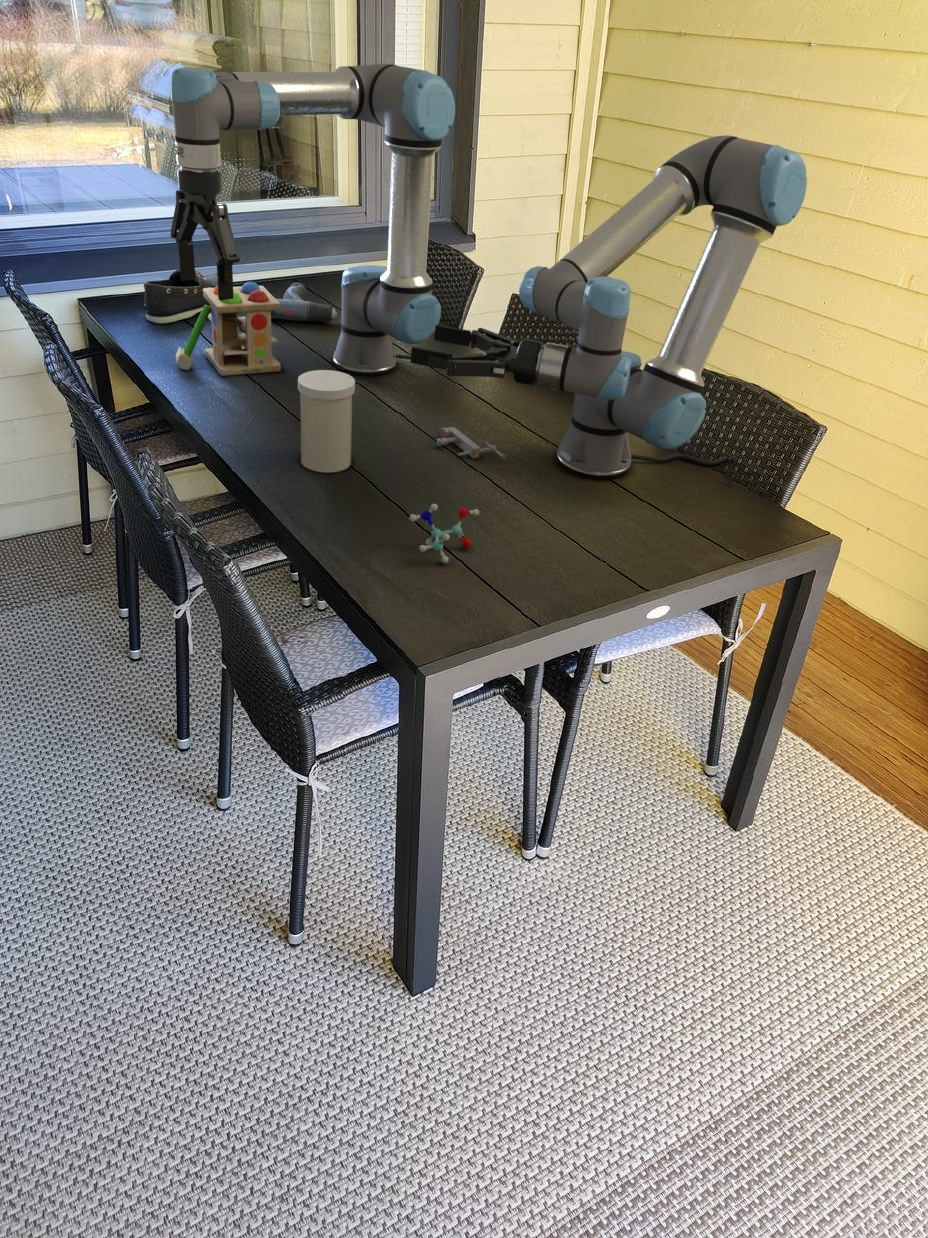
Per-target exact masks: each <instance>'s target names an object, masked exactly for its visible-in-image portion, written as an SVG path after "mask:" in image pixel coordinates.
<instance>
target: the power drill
mask: <svg viewBox="0 0 928 1238" xmlns="http://www.w3.org/2000/svg"><path fill="white" fill-rule="evenodd" d="M307 295H308V290H307V287H306V285H304V284H303V283H301V282H293V283H292V284H291V285H290V286H289V287H288V288H287V289H286V291H285V292H284V294H283V297H282V298H275V299H276V300H277V301H278V302H279V303H280V310H271V319H274V320H275V319H276V320H283V321H294V322H295V321H297V322H332V321H333V320H334V319H336V318H337V317H338V312H337V311H336V308H334V307H333V306H332V305H331V304H324V303H317V302H313V301H307V300H305V299H306V297H307Z"/></svg>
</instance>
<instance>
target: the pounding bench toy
mask: <svg viewBox="0 0 928 1238" xmlns="http://www.w3.org/2000/svg"><path fill="white" fill-rule="evenodd" d="M203 296H204V297H205V299H206V300H207V301H208V302H209V304H210V305H211V307H210V306H208V305H204V307H203V309H202V311H200V313H199V316H198V318H197V320H196V322H195V324H194V327H193V329H192V331H191V332H190V333H191V334H190V336H189V338H188V340H187V343H186V344H185V347H184V348H182V347H180V346H179V347H178V349H177V351H176V354H175V357H174V358H175V362H176V365H177V366H178V368H179V369H182V370H185V371H189V370H190V369H191V367H192V365H193V363H194V356H193V351H194V348H195V347H196V345H197V342H198V340H199V337H200V336H201V333H202V332H203V329H204V326H205V325H206V322H207V320H209V321H210V322H211V336H212V337H211V338H212V339H211V340H212V348H205V349H204V352H205V353H204V355H205V357H206V359H208V361H209V363H210V364H211V365H212V366H213V367H214V369H215V370H216V371H217V372H218V374H219V375H220V376H222V377H223V376H234V375H235V376H236V375H246V374H247V375H250V374H262V373H275V372H281V370H282V364H281V363H280V362H279V360H278V359H277V358H276V357H275V356H274V355H273V348H272V347H273V345H272V344H276V343H278V342H279V341H278V339H277V338H276V337H275V336H274V334H272V318H271V310H280V303H279V302H278V301H277V300H276V299H277V298H276V297H274V296H273V295H272V294H271V293H270V292H269V290H268V289H267V288H266V287H264V285H259V284H257V283H256V282H255V281H247V282H245V283H244V284H243V285H242V286H234V287H233V298H234V299H228V300H222V301H220V300H219V297H218V285H217V286H216V287H215V288H204V289H203ZM238 313H244V314H245V315H244V316H238ZM238 329H239V331H240V333H239V334H238Z"/></svg>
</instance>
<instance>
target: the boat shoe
mask: <svg viewBox="0 0 928 1238" xmlns="http://www.w3.org/2000/svg"><path fill="white" fill-rule="evenodd" d="M195 278H196V280H189V281H181V273H180V268H177V269H176V270H174V271H173V272H172V273H171V274H170V275H169V277H167V278H166V279H161V280H147V281H144V282H143V288H144V289H143V290H144V304H143V308H144V309H145V310H146V311H145V316H146V317H145V318H146V320H147V321H149V322H151V323H155V324H169V323H174V322H178V321H180V320H184V319H188V318H191V317H194V315H196V314H197V313H201V311H202V309H203V307H204V305H208V306H210V307H211V305H210V304H209V302H208V301H207V300H206V299H205V297H204V296H203V289H204V288H215V287H216V286H217V285H218V280H217V273H214V274H208V275H205V276H204V275H203V274H201V273H200V272H199V271H197V270H195ZM233 287H235V283H234V282H233Z"/></svg>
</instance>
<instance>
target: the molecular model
mask: <svg viewBox="0 0 928 1238" xmlns="http://www.w3.org/2000/svg"><path fill="white" fill-rule="evenodd" d="M438 508H439V506H438V505H437V504H436V503H432V504H431V505H430V508H429V510H427V509H426V510H424V511H423V512H421V514H417V515H416V514H414V513H412V514H410V515H409V517H408V518H409V521H410V522H416V521H417V520H420V519H423V520H424V521H426V522H427V523H428V524H429V527H430V529H431V530H432V531H431V534H430V535H431V536H430V538H427V539H426V540H425V541H424V544H421V545H419V546H418V550H419V552H421V553H425V552H426V551H428V550H433V551H435V552H438V553H439V555H440V557H441V560H440V561H441V563H443V564H448V563H449V562H450V561H449V557H448V556H446V555H445V552H444V551H443V548H444V542H448V541H450V537H451V536H450V534H452V535H453V536H454V537H457V538H458V540H459V542H461V544H462V548H464V549H465V550H468V549H470V548H471V547H472V545H473V543H472V541H471V540H470V539H467V537H466V536H465V534H464V533H463V529H462V527H461V525H462V522H463V519H464V518H465V517H467V515H472V516H473V517H478V516H479V515H480V511H479V509H478V508H475V509H473V510H468V509H467V508H465V507H460V508H459V509H458V510H457V511H458V513H457V514H458V515H459V517H458V520H457V523H456V525H453V526H452V527H451V529H448V530H443V531H441V529H439V528H436V526H435V525H434V523H433V521H432V517H433V515H432V513H433V512H437V510H438Z"/></svg>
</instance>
